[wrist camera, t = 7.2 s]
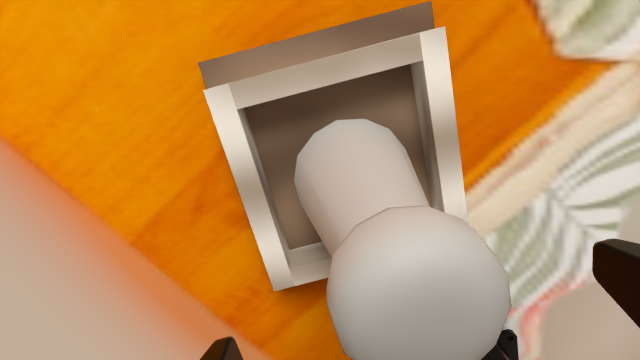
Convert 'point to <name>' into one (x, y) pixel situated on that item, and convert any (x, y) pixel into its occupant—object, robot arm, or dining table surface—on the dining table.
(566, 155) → the dining table surface
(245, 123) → the shaker stand
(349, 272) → the salt shaker
